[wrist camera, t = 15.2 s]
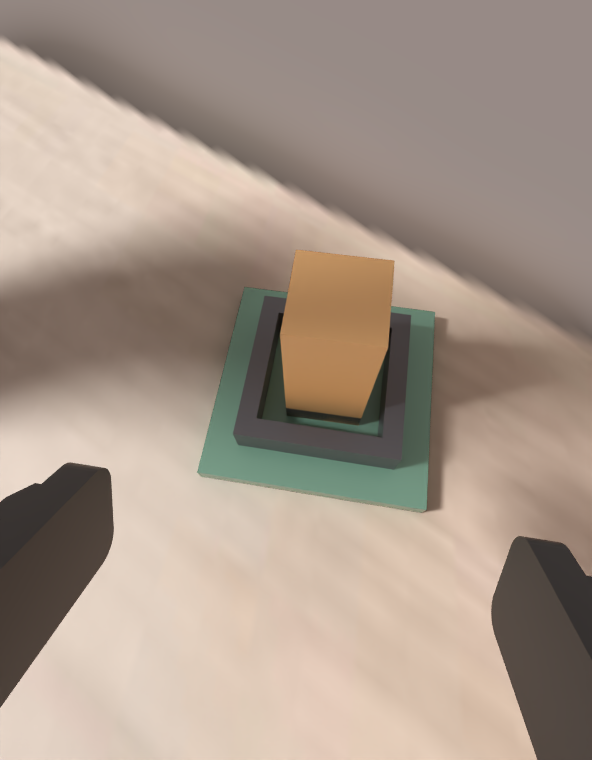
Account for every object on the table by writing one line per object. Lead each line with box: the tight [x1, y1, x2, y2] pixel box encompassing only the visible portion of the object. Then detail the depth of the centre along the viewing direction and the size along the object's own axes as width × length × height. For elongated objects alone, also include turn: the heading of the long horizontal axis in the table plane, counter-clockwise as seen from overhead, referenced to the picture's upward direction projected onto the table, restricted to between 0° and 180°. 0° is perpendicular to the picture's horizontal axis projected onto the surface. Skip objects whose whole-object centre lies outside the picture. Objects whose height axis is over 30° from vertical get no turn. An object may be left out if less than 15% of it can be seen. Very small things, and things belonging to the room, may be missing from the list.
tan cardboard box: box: [280, 250, 394, 426], centre depth 21 cm, size 4×4×9 cm
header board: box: [197, 287, 435, 513], centre depth 25 cm, size 12×12×3 cm
